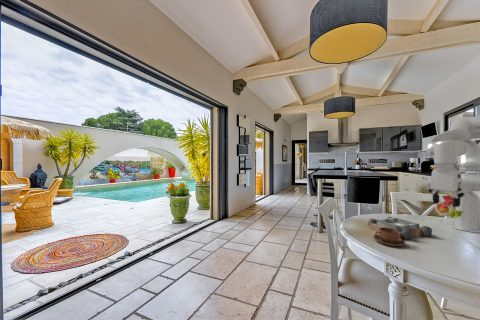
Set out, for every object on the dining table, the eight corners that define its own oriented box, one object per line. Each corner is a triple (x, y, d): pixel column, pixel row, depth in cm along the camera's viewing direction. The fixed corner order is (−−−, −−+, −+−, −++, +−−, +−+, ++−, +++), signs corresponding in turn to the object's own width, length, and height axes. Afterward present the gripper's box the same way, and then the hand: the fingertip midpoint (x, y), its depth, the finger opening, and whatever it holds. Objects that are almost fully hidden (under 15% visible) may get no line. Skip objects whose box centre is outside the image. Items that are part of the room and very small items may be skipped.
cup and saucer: (391, 249, 88) (391, 235, 88) (367, 239, 100) (367, 227, 100) (411, 246, 91) (411, 233, 91) (386, 237, 103) (386, 225, 103)
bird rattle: (439, 222, 94) (465, 218, 87) (427, 199, 98) (450, 194, 91) (443, 219, 98) (468, 216, 91) (430, 197, 101) (453, 192, 95)
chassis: (394, 224, 123) (394, 215, 123) (434, 236, 104) (434, 225, 104) (366, 227, 117) (366, 218, 117) (402, 240, 98) (402, 229, 98)
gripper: (476, 167, 87) (476, 208, 87) (429, 166, 104) (429, 200, 104) (465, 167, 85) (465, 209, 85) (418, 166, 102) (419, 201, 102)
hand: (445, 204), depth 95 cm, fingers closed on bird rattle, 6 cm apart
